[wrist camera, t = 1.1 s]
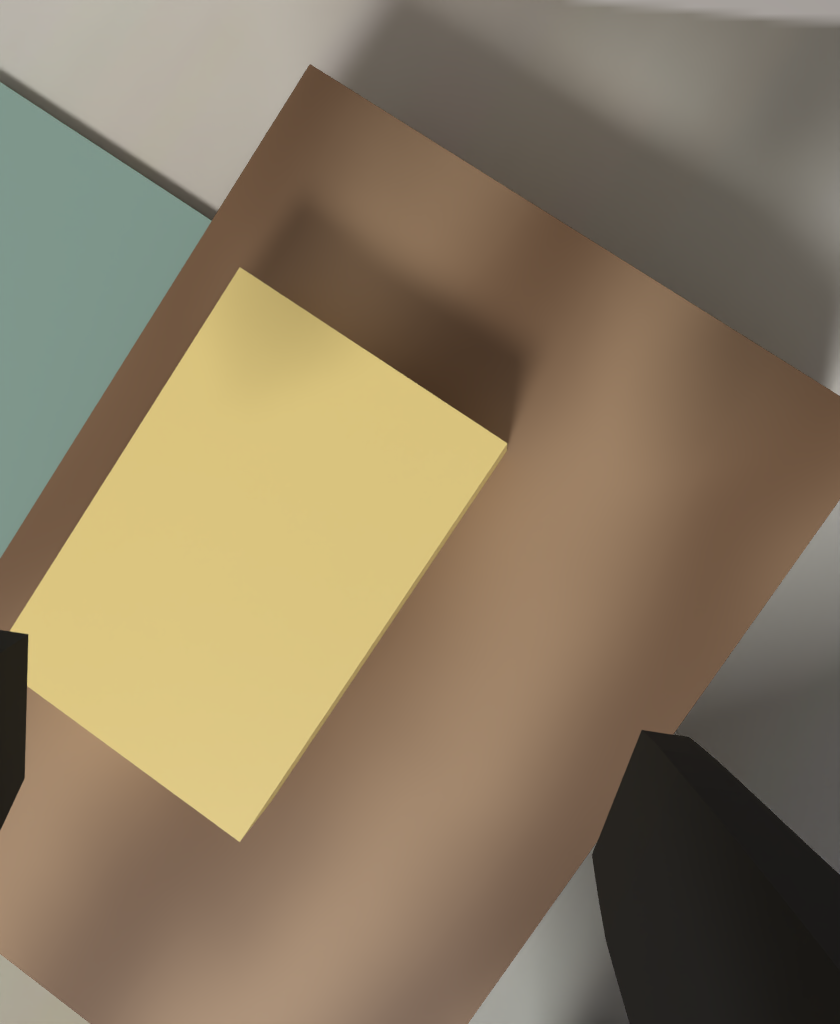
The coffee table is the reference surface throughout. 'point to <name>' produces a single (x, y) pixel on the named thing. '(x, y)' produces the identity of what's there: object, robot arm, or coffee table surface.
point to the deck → (425, 603)
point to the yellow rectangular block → (249, 552)
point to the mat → (70, 287)
